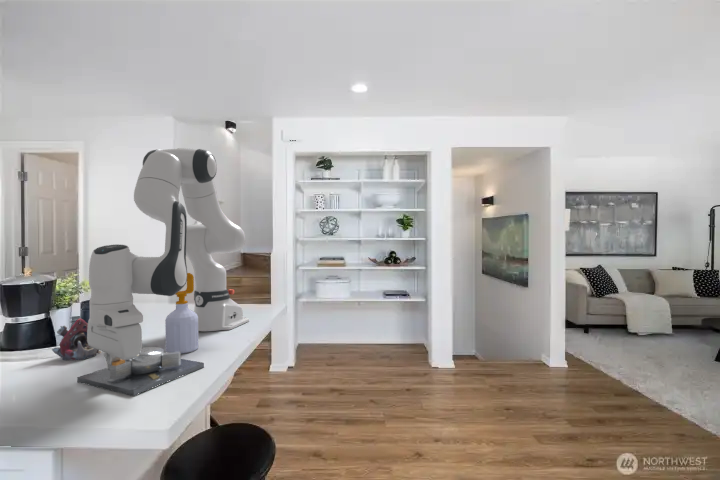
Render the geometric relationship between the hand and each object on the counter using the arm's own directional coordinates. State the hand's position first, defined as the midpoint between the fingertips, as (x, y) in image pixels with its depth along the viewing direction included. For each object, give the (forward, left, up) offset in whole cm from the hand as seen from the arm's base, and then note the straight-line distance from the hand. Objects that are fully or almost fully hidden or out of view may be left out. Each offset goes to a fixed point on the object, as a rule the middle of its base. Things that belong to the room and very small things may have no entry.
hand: (113, 370), depth 93 cm
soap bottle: (-26, -6, -3) cm, 27 cm away
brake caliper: (-9, -29, -3) cm, 31 cm away
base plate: (-7, +2, -3) cm, 8 cm away
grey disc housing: (-5, +2, -1) cm, 6 cm away
